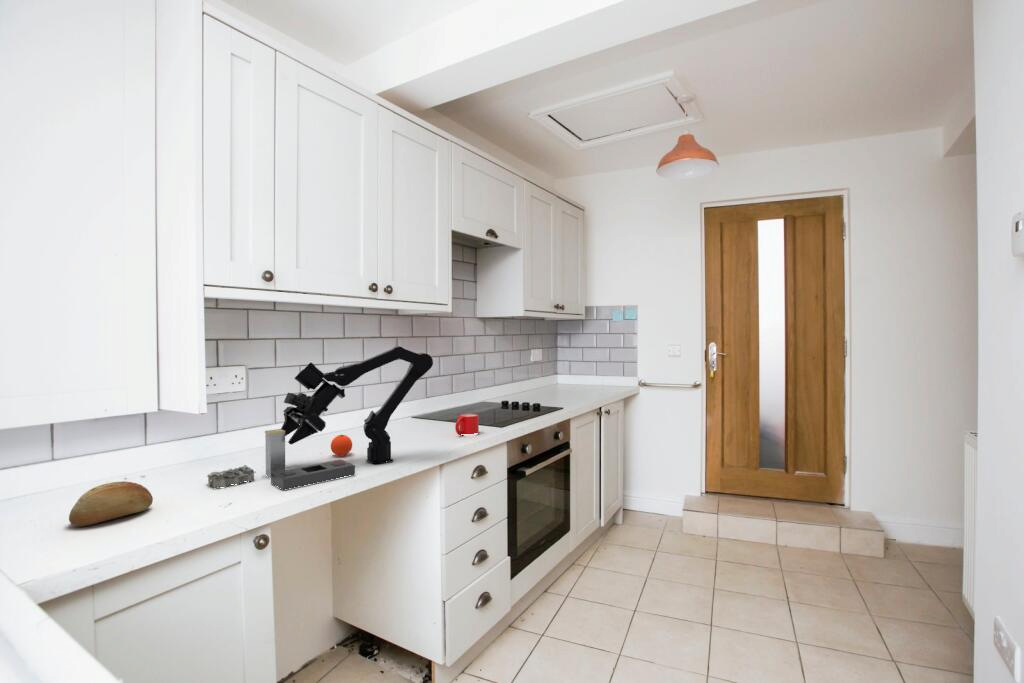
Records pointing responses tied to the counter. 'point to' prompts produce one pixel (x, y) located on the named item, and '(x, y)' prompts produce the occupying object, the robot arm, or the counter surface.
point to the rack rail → (311, 474)
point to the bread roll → (109, 503)
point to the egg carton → (231, 476)
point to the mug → (467, 424)
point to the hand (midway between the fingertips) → (283, 441)
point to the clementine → (341, 445)
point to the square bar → (275, 451)
